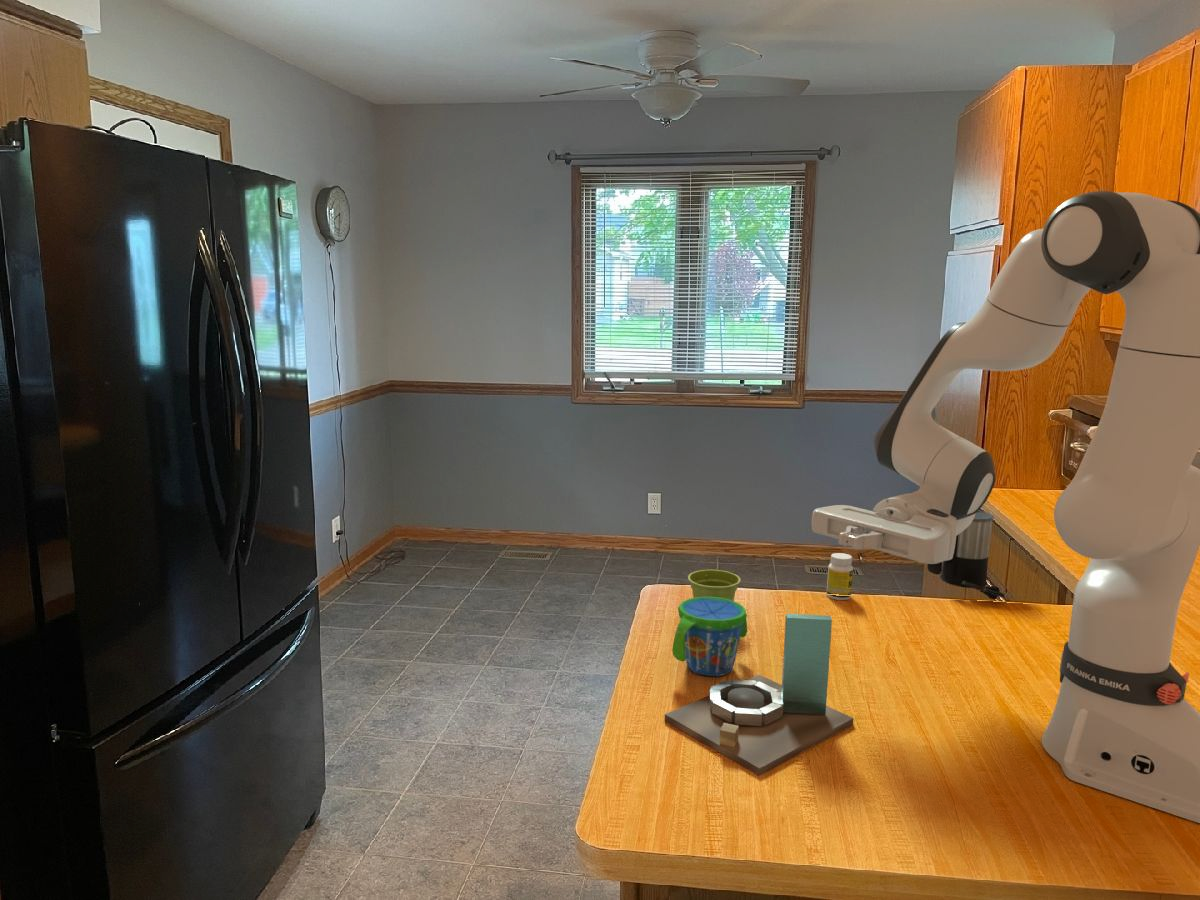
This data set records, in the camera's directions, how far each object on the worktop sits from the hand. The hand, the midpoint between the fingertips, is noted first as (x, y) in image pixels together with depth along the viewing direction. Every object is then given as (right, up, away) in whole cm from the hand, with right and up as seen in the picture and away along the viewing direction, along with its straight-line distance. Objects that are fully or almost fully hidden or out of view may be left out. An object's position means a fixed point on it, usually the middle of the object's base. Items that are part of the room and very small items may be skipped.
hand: (847, 541), depth 117 cm
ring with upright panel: (-12, -24, 0) cm, 26 cm away
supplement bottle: (+13, -16, +48) cm, 52 cm away
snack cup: (-17, -22, +16) cm, 32 cm away
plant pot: (-14, -19, +34) cm, 41 cm away
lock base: (-13, -25, -1) cm, 28 cm away
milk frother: (+42, -16, +54) cm, 70 cm away
